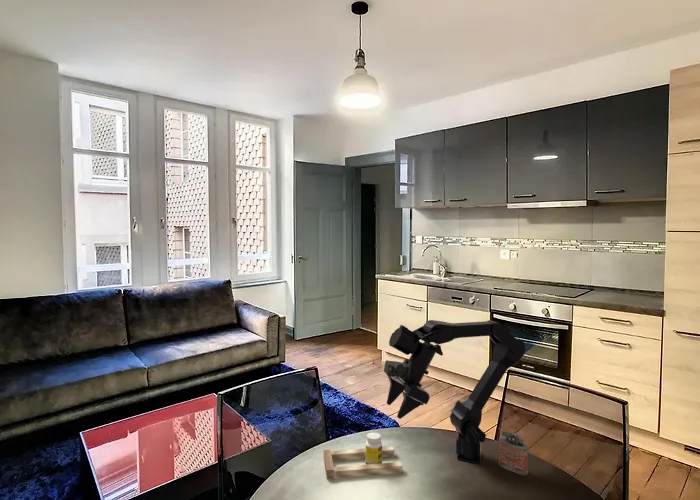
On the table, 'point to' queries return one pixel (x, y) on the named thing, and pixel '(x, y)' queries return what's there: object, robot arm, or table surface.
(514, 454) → the lighter
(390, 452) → the cradle
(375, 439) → the supplement bottle
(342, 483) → the table surface
